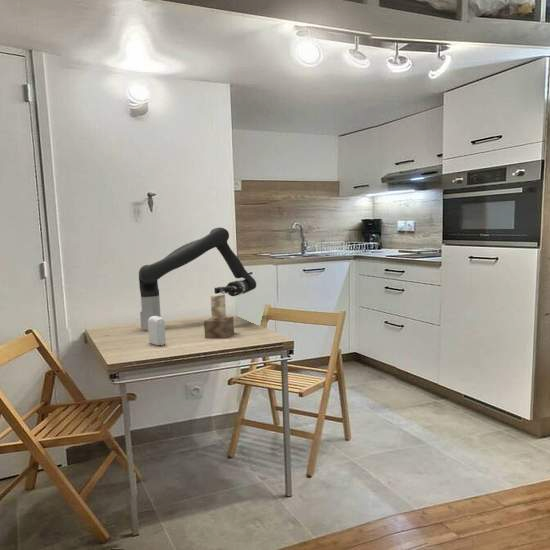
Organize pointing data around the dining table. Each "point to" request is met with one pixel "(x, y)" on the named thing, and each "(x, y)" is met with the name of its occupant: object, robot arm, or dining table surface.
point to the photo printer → (156, 330)
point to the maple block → (218, 307)
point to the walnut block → (219, 328)
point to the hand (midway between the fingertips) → (223, 291)
